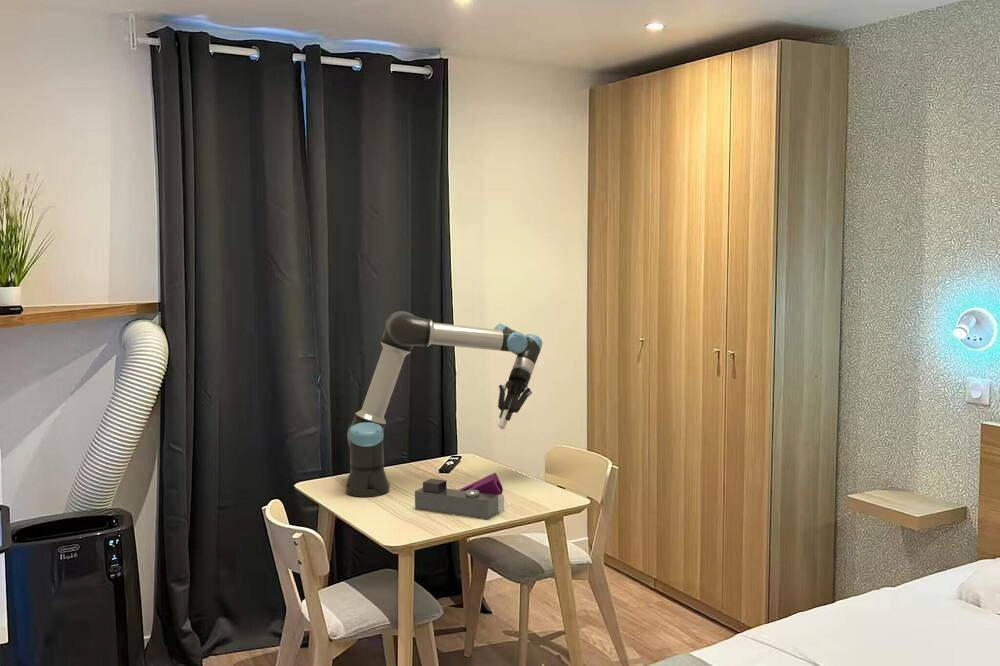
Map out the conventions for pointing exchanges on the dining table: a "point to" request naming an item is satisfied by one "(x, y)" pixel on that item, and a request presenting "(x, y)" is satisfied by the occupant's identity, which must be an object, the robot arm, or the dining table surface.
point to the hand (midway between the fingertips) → (501, 427)
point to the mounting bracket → (486, 485)
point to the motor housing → (457, 500)
